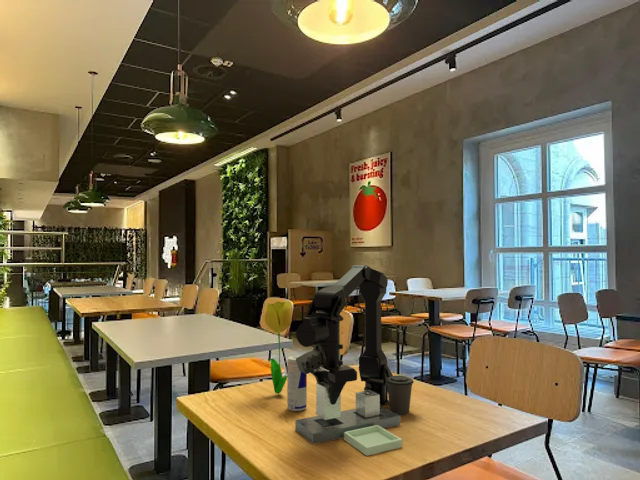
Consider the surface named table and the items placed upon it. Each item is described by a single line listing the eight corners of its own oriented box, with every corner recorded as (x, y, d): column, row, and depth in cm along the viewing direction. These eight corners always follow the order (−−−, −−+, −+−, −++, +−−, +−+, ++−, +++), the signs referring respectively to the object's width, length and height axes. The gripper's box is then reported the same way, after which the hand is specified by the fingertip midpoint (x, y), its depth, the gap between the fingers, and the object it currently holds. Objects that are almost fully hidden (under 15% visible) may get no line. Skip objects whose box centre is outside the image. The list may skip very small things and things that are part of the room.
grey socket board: (378, 413, 129) (378, 404, 129) (400, 425, 120) (400, 415, 120) (295, 429, 117) (295, 420, 117) (313, 444, 108) (313, 433, 108)
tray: (377, 432, 116) (377, 424, 116) (402, 447, 107) (402, 439, 107) (343, 439, 111) (343, 432, 111) (366, 455, 102) (366, 447, 102)
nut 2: (369, 419, 125) (369, 388, 125) (379, 425, 120) (379, 393, 121) (355, 422, 122) (355, 391, 123) (365, 428, 118) (365, 396, 119)
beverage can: (304, 412, 129) (304, 360, 130) (285, 411, 130) (285, 359, 131) (308, 406, 135) (308, 355, 135) (290, 404, 136) (290, 354, 136)
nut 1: (331, 411, 119) (331, 379, 119) (340, 416, 115) (340, 383, 115) (316, 414, 117) (316, 381, 117) (324, 420, 113) (324, 386, 113)
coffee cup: (396, 419, 125) (396, 382, 125) (379, 409, 132) (379, 375, 132) (419, 414, 128) (419, 378, 129) (402, 405, 136) (402, 372, 136)
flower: (296, 394, 146) (297, 300, 147) (281, 401, 139) (282, 303, 140) (275, 389, 151) (276, 299, 151) (259, 396, 144) (260, 301, 145)
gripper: (285, 336, 121) (284, 395, 120) (317, 350, 104) (317, 418, 104) (321, 333, 126) (321, 389, 126) (358, 345, 110) (358, 410, 109)
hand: (328, 401), depth 116 cm, fingers closed on nut 1, 5 cm apart
